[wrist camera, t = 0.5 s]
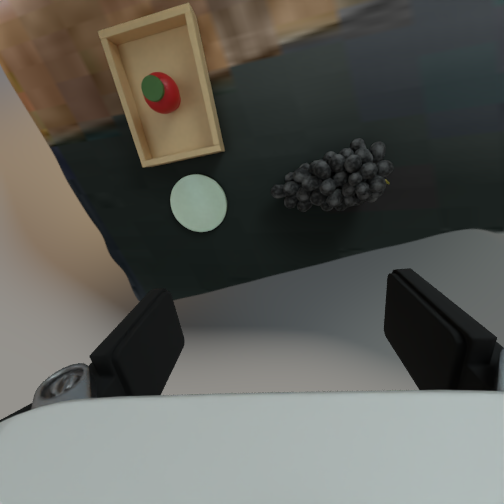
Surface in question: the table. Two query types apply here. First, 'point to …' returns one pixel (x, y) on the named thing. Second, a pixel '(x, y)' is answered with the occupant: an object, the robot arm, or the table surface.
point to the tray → (180, 70)
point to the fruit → (338, 179)
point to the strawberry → (161, 92)
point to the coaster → (198, 202)
